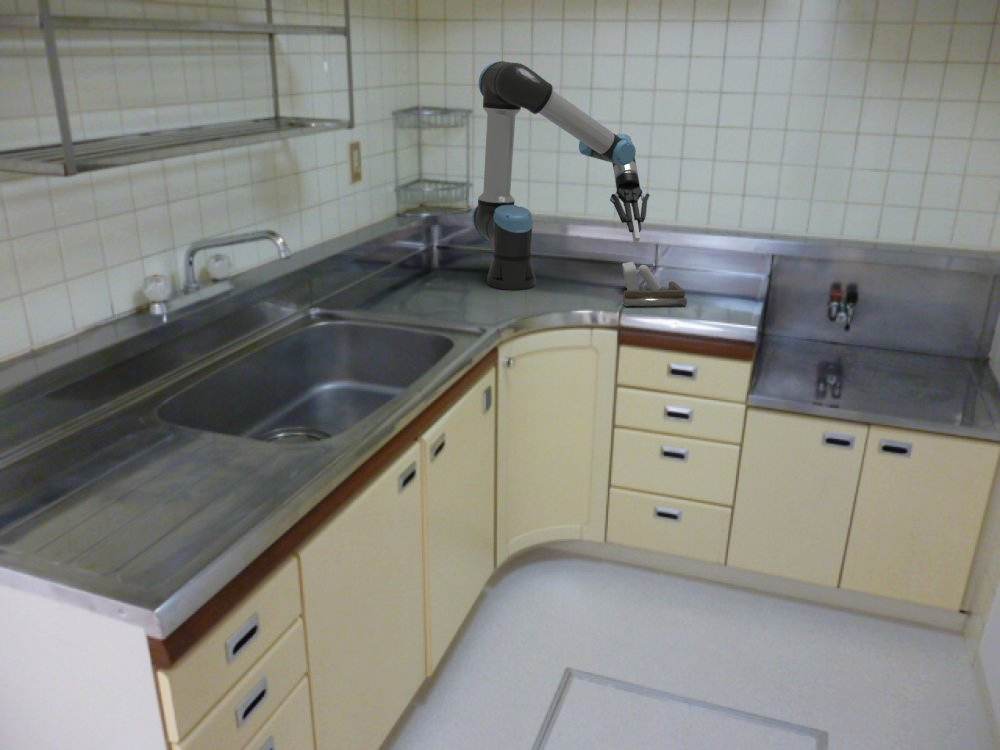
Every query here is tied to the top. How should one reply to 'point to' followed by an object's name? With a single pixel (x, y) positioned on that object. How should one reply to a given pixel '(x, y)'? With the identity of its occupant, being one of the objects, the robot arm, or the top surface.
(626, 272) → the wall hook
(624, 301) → the hinge bracket
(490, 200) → the robot arm
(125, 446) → the top surface
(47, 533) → the top surface
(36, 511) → the top surface
